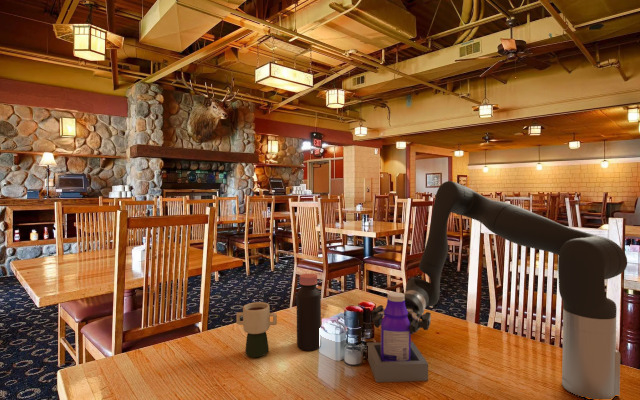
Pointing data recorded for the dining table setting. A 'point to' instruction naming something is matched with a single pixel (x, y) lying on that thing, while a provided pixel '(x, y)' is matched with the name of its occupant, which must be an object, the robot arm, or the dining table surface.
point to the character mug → (256, 327)
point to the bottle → (395, 330)
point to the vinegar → (308, 313)
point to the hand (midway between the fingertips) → (393, 326)
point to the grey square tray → (397, 366)
